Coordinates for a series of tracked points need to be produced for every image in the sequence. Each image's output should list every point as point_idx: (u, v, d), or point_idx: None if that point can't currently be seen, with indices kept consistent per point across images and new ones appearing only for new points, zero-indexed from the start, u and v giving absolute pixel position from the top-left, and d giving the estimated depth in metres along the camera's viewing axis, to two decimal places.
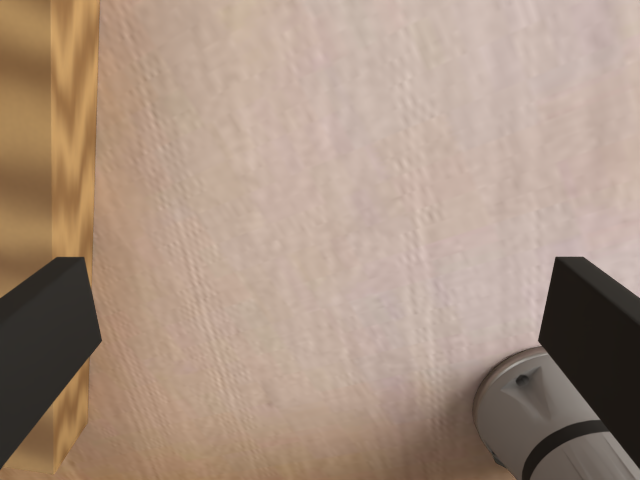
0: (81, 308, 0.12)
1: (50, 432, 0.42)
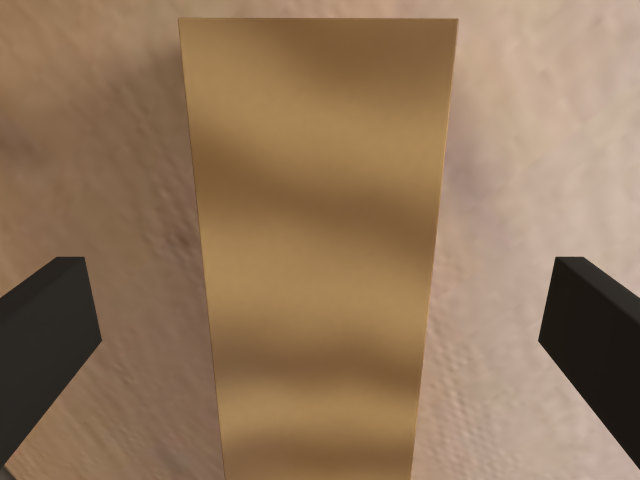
0: (81, 308, 0.12)
1: None
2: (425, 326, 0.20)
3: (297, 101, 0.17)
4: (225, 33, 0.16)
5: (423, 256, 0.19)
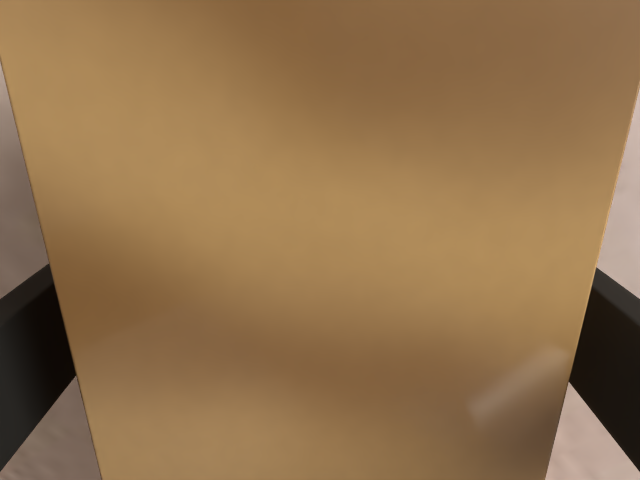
0: None
1: None
2: None
3: (277, 163, 0.07)
4: (97, 8, 0.06)
5: (531, 453, 0.10)
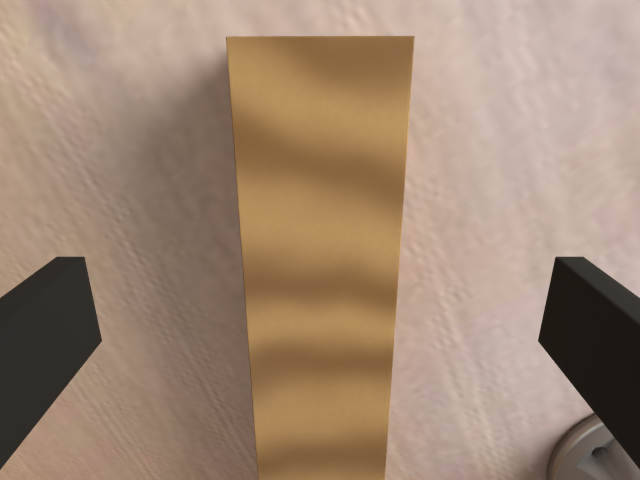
0: (81, 308, 0.12)
1: None
2: (398, 256, 0.28)
3: (306, 92, 0.24)
4: (257, 47, 0.23)
5: (395, 203, 0.26)
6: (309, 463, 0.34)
